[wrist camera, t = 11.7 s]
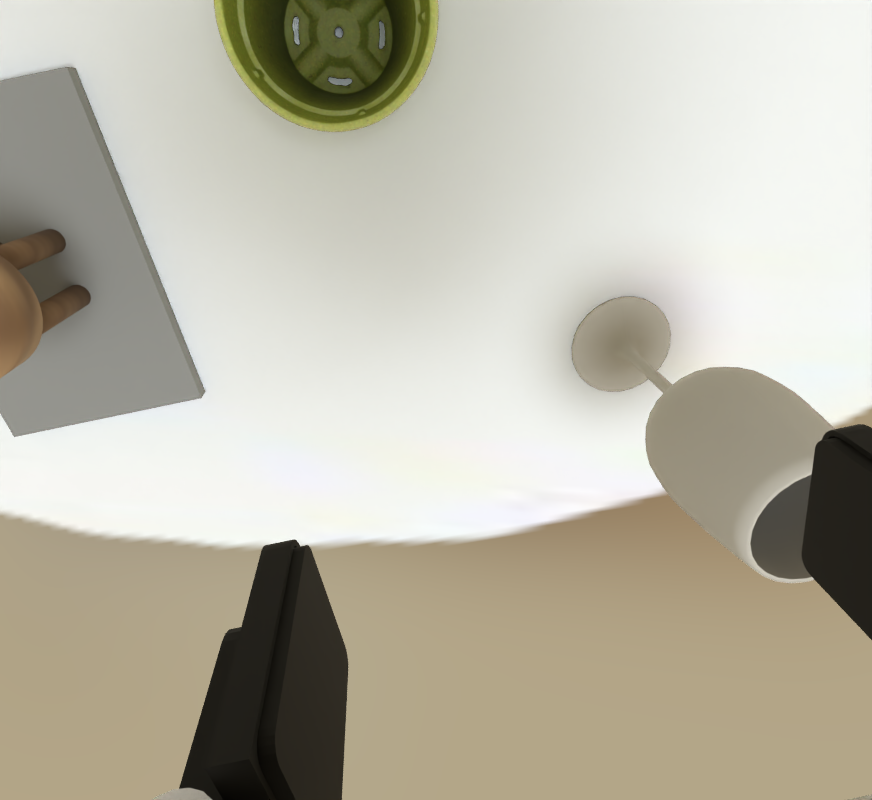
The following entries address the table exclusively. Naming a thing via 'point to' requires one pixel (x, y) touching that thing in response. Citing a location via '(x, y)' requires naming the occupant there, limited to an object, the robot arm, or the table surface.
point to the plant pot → (329, 56)
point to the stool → (30, 298)
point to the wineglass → (713, 437)
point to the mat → (82, 268)
